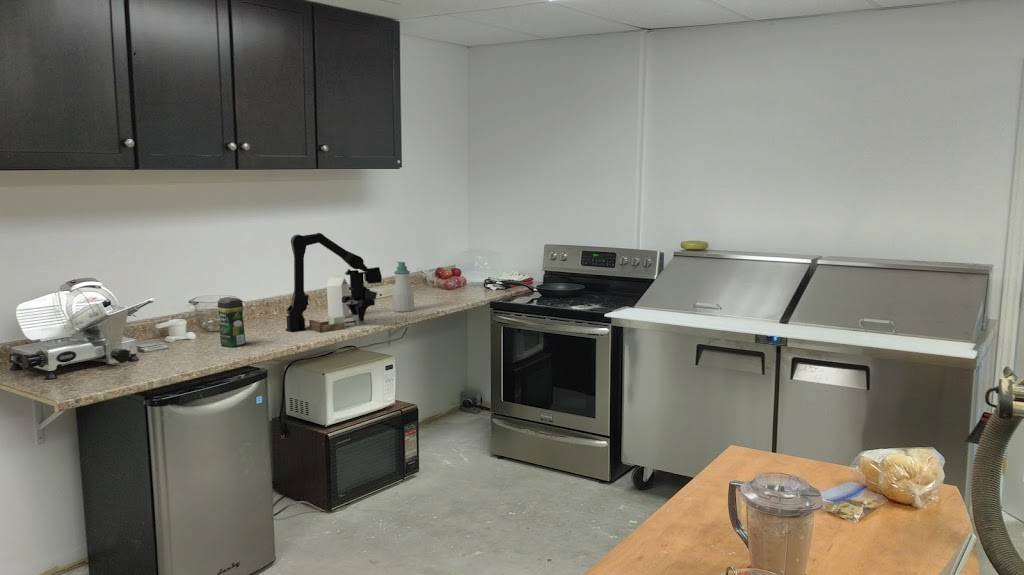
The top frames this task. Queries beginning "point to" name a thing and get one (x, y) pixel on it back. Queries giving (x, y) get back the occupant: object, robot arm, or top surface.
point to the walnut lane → (325, 326)
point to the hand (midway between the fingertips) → (359, 320)
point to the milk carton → (337, 296)
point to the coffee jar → (231, 322)
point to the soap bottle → (402, 290)
